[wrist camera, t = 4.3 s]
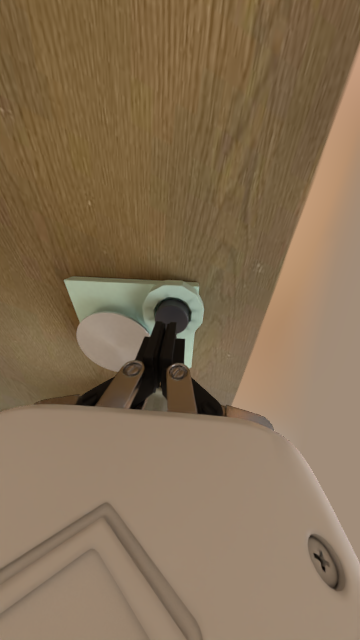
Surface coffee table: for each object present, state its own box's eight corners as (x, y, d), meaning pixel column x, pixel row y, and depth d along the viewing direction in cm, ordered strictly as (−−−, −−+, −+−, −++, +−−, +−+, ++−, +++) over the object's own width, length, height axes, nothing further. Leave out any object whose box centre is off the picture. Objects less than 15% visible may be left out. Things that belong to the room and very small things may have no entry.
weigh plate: (152, 313, 15) (152, 315, 15) (157, 372, 20) (156, 374, 20) (66, 308, 16) (63, 310, 15) (90, 368, 20) (89, 370, 20)
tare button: (189, 299, 15) (189, 306, 13) (187, 326, 16) (187, 335, 15) (156, 297, 15) (153, 304, 13) (158, 325, 16) (155, 333, 15)
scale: (204, 277, 16) (206, 287, 13) (194, 361, 23) (195, 378, 20) (70, 270, 16) (48, 279, 14) (99, 354, 23) (88, 370, 21)
